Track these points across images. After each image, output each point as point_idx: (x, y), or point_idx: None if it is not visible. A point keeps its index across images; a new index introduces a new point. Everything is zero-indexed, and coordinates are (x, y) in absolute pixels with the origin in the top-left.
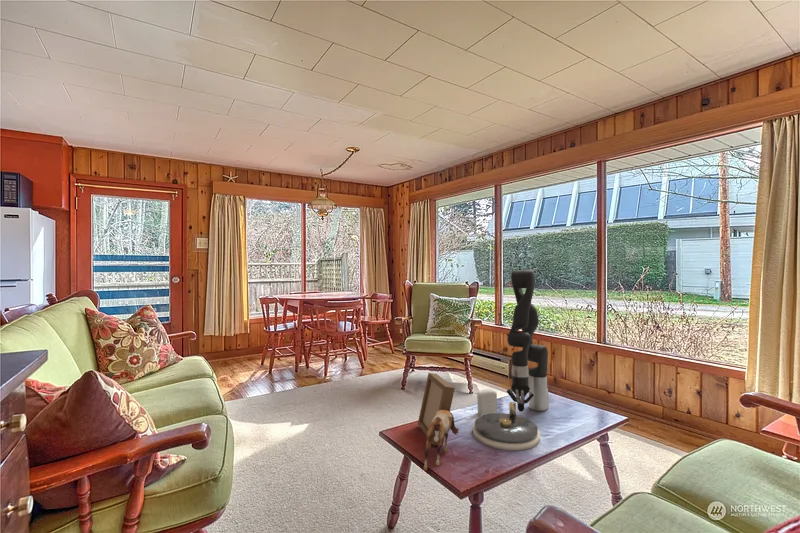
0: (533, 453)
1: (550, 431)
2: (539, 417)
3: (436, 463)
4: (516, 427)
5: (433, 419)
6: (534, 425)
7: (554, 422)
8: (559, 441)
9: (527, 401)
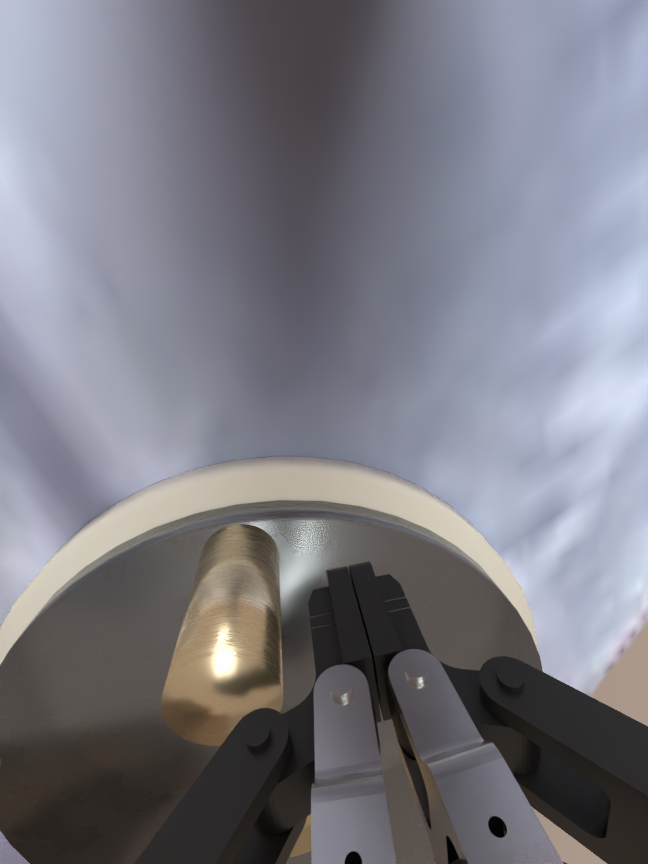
0: None
1: (567, 439)
2: (418, 141)
3: None
4: (380, 742)
5: None
6: (506, 626)
7: (588, 197)
8: (634, 556)
9: (549, 772)
